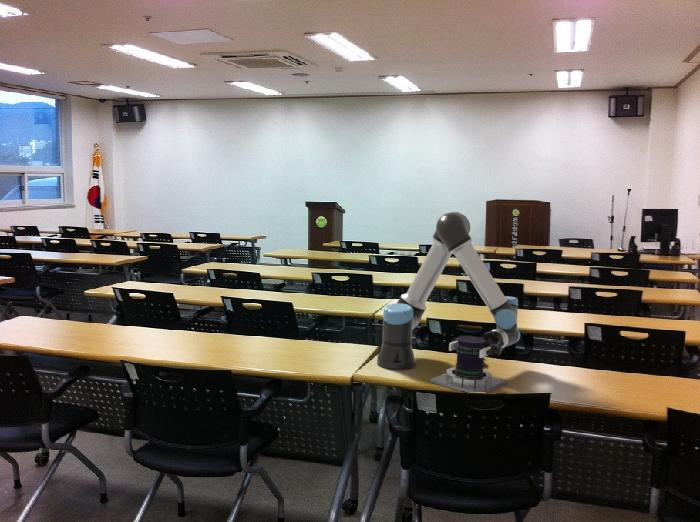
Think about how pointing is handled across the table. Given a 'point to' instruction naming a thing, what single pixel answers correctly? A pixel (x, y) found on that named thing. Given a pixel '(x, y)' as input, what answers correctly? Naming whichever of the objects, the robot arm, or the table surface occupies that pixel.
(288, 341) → the table surface
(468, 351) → the storage jar
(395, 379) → the table surface
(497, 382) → the hub plate
